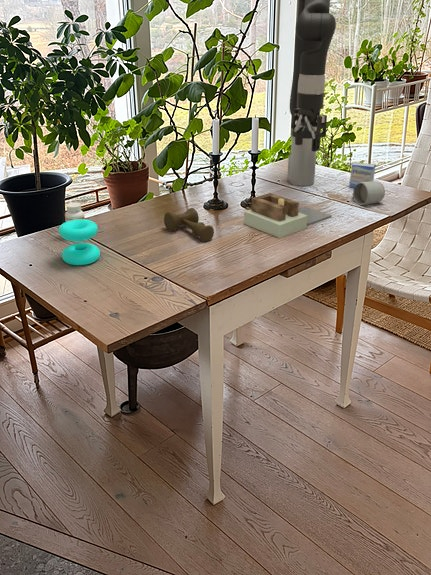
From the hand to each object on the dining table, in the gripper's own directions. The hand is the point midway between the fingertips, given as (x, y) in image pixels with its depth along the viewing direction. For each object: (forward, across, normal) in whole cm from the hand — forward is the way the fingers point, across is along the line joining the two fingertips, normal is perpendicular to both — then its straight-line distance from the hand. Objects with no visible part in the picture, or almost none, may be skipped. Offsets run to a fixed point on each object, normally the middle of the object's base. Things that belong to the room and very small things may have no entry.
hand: (306, 147), depth 173 cm
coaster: (+23, -2, +3) cm, 23 cm away
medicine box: (+22, -18, +38) cm, 48 cm away
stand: (+23, 0, -10) cm, 25 cm away
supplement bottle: (+23, -18, -66) cm, 73 cm away
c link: (+19, 0, -10) cm, 21 cm away
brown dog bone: (+23, -7, -36) cm, 43 cm away
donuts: (+23, -2, -69) cm, 73 cm away
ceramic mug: (+23, -5, +29) cm, 37 cm away
